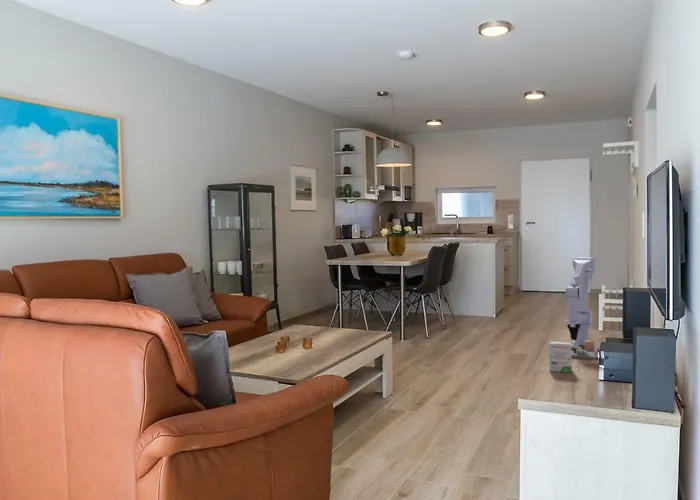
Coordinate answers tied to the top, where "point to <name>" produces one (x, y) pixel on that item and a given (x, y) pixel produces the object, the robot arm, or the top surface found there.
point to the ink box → (560, 357)
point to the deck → (584, 353)
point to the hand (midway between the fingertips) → (574, 339)
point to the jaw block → (589, 344)
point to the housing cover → (575, 347)
